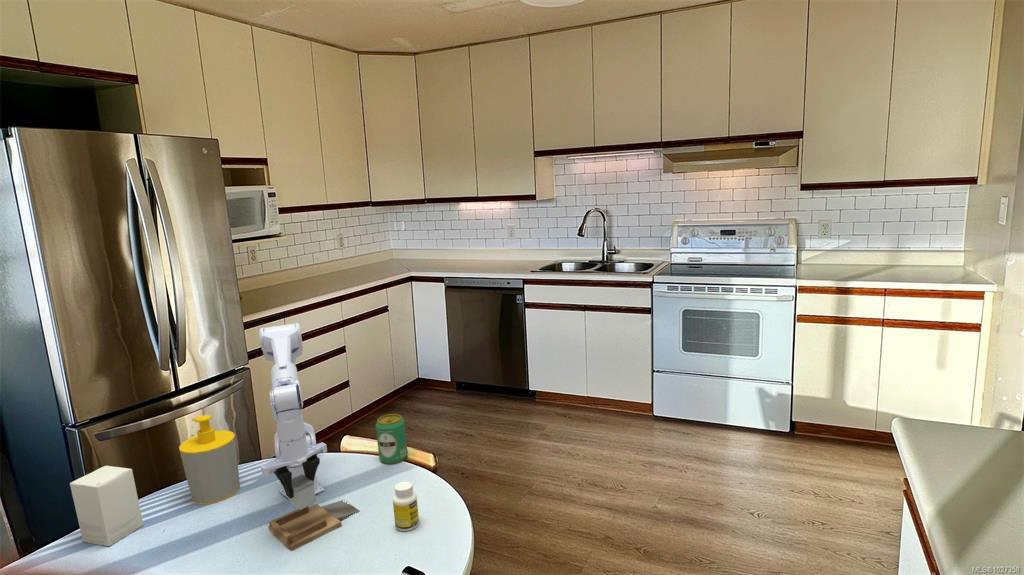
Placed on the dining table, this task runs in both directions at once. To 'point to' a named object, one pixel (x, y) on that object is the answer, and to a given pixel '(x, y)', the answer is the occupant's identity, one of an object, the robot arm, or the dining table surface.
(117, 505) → the supplement box
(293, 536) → the dock
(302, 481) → the grey lidded box
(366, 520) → the dining table surface
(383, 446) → the beverage can
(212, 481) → the soap bottle
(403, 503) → the supplement bottle
